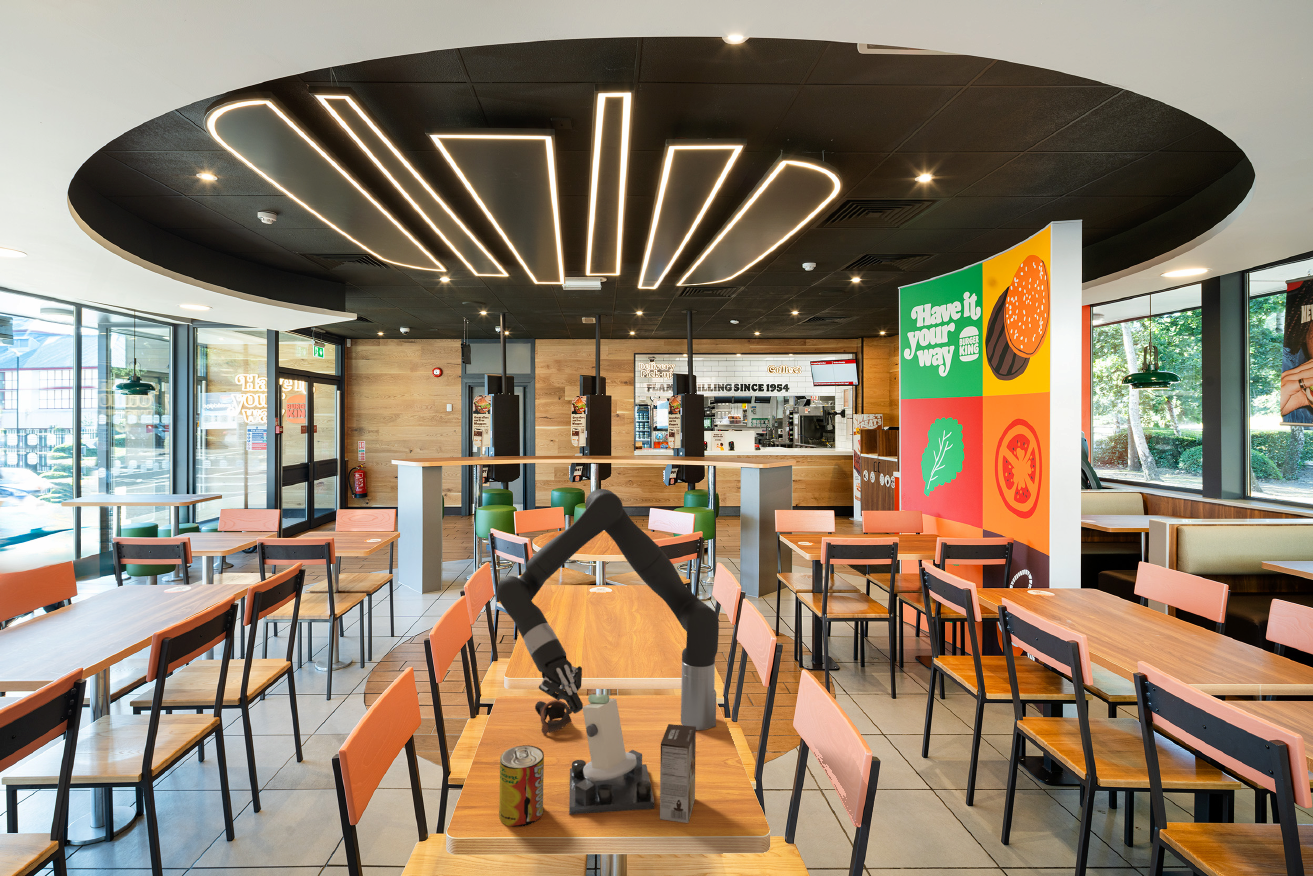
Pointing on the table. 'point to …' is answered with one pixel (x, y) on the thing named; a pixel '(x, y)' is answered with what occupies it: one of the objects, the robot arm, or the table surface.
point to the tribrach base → (618, 792)
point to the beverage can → (521, 786)
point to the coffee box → (677, 773)
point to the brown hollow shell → (553, 715)
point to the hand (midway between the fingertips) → (579, 711)
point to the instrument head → (605, 740)
